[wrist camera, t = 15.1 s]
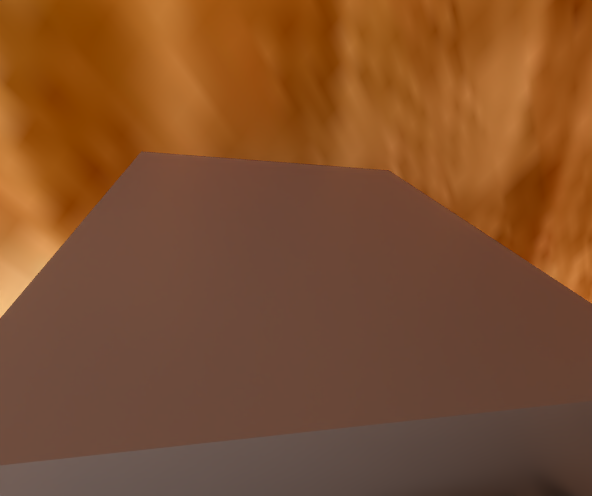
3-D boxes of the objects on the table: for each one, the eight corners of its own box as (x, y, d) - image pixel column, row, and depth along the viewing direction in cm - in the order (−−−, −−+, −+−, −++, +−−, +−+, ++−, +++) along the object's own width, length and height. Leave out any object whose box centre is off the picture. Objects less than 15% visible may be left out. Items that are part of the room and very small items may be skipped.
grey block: (388, 170, 11) (717, 386, 4) (345, 342, 15) (473, 632, 7) (141, 151, 10) (-137, 481, 2) (158, 352, 13) (76, 743, 6)
